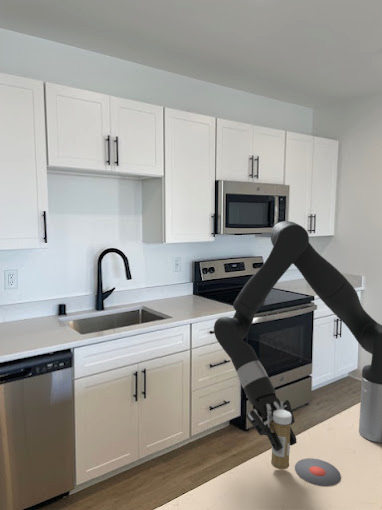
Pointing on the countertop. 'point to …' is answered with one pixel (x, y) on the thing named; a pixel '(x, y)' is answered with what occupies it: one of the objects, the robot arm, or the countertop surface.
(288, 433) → the sprinkles bottle
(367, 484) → the countertop surface
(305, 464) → the coaster
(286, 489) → the countertop surface
